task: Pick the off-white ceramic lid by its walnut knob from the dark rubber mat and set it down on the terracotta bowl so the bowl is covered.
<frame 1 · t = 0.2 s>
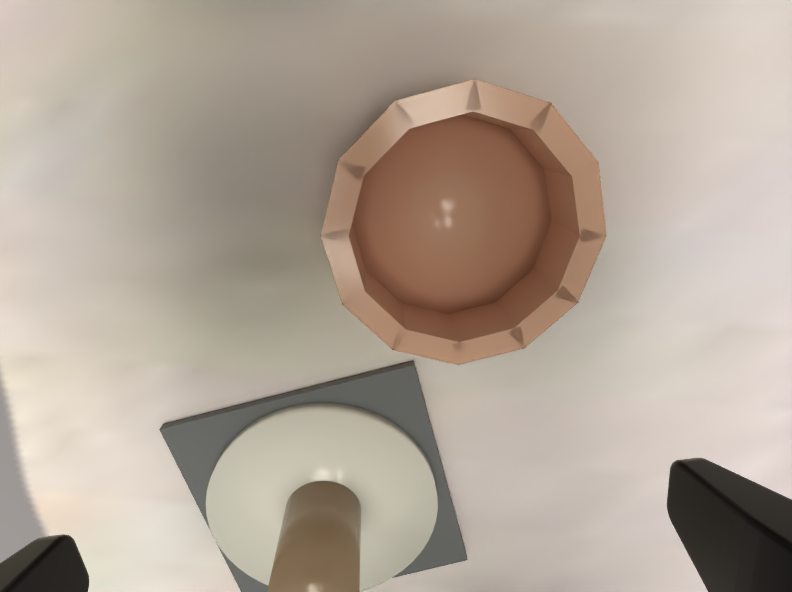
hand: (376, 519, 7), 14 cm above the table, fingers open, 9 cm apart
mat: (325, 493, 24), on the table
bowl: (449, 217, 20), on the table
lid: (324, 499, 24), resting on mat
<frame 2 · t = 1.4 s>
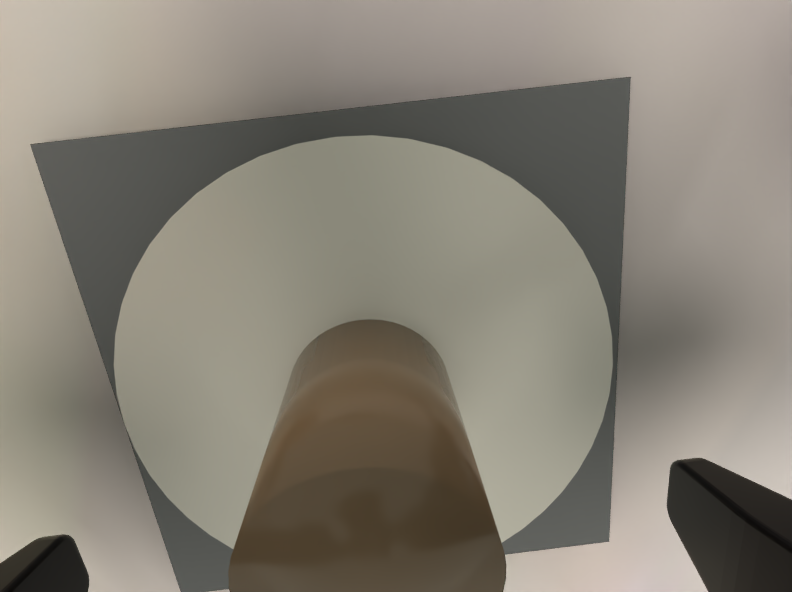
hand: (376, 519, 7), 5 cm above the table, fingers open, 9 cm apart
mat: (370, 369, 12), on the table
lid: (370, 377, 12), resting on mat
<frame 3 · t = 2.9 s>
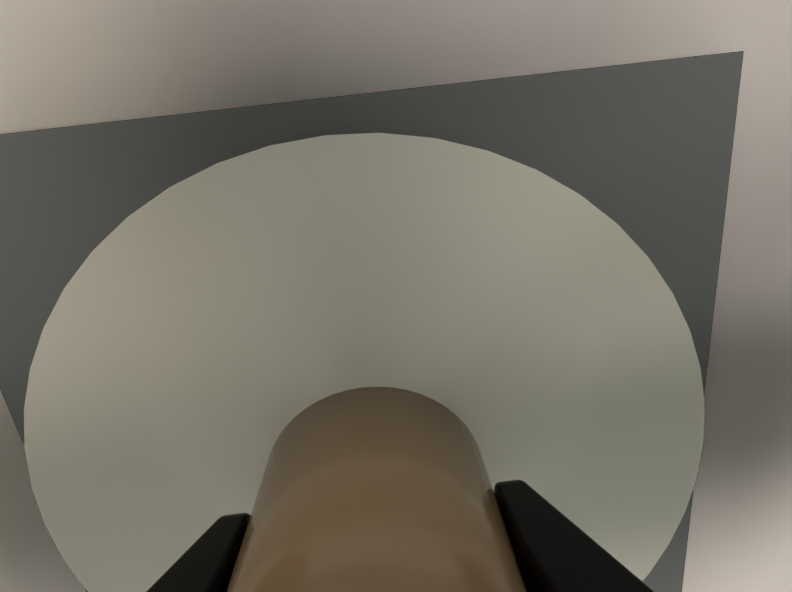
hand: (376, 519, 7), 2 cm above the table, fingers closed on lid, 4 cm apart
mat: (375, 439, 9), on the table
lid: (375, 452, 9), resting on mat, touching gripper
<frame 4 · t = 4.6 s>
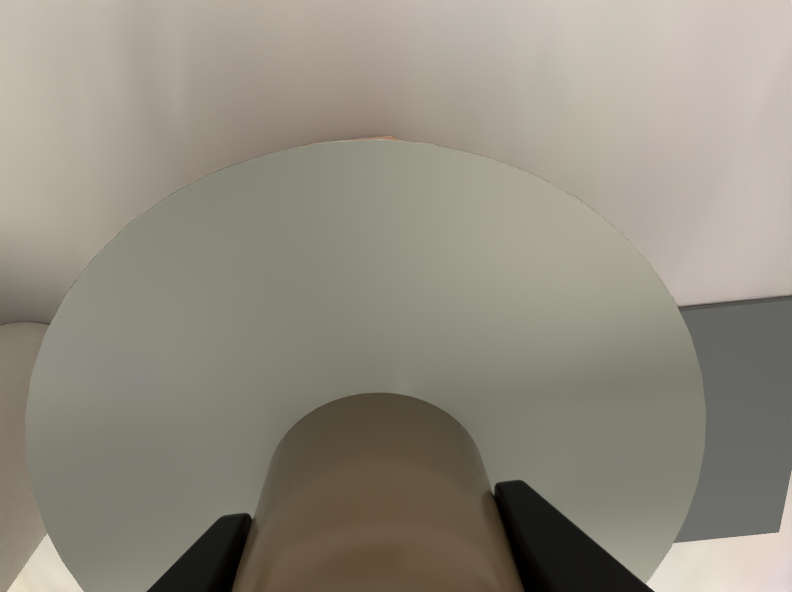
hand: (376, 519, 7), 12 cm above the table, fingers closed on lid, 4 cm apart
mat: (659, 433, 22), on the table
coffee cup: (47, 391, 20), on the table
lid: (376, 457, 9), point 11 cm above the table, touching gripper
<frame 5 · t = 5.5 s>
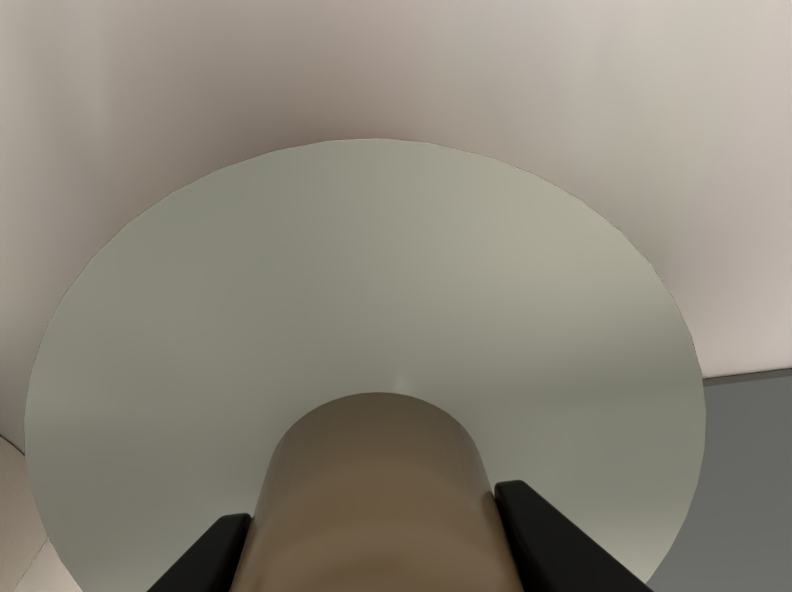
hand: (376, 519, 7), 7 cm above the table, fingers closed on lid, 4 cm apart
mat: (738, 522, 17), on the table
lid: (376, 457, 9), point 6 cm above the table, touching gripper
when the fingers open (6 cm above the table, at t = 6.4 s): lid stays where it is, resting on bowl.
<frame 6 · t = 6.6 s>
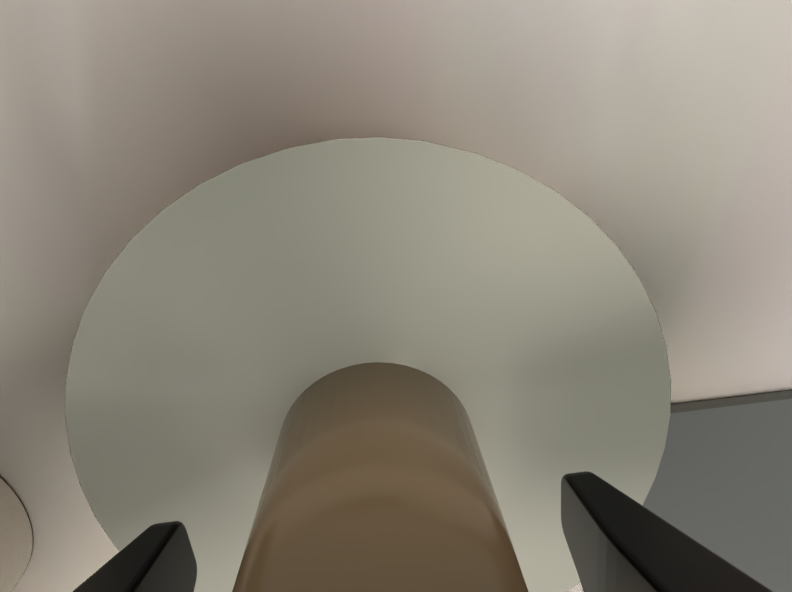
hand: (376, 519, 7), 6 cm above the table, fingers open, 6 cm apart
mat: (764, 547, 16), on the table
lid: (376, 425, 10), point 4 cm above the table, touching bowl
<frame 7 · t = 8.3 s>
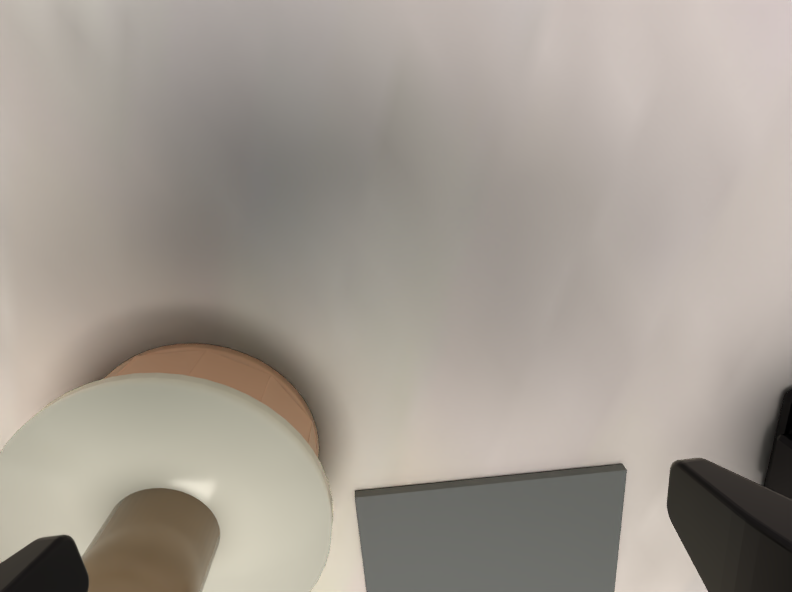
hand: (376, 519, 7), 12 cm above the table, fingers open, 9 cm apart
mat: (490, 578, 24), on the table
bowl: (203, 447, 20), on the table
lid: (173, 514, 17), point 4 cm above the table, touching bowl
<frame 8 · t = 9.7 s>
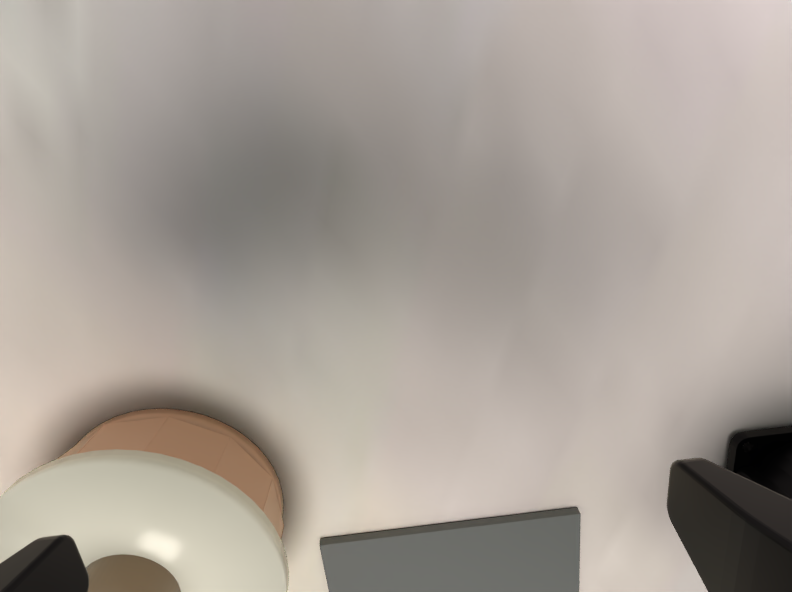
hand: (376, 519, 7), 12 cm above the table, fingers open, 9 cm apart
bowl: (174, 502, 21), on the table
lid: (139, 574, 18), point 4 cm above the table, touching bowl
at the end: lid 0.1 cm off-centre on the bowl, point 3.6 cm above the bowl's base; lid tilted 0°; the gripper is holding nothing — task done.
